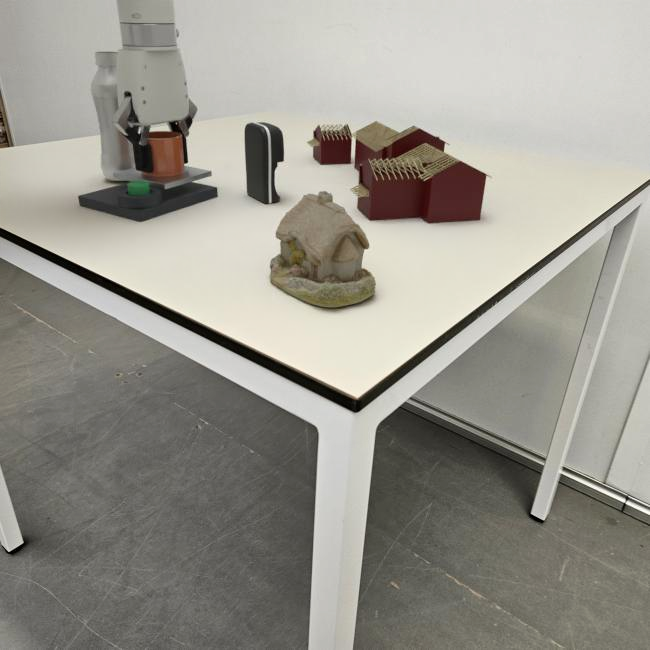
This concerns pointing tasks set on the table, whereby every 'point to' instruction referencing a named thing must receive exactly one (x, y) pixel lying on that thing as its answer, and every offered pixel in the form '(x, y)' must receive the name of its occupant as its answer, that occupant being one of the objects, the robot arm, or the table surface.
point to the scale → (146, 200)
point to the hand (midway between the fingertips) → (162, 165)
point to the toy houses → (404, 173)
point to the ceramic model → (321, 254)
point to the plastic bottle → (110, 117)
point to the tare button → (138, 188)
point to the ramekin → (166, 153)
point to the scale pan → (163, 182)
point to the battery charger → (263, 160)
